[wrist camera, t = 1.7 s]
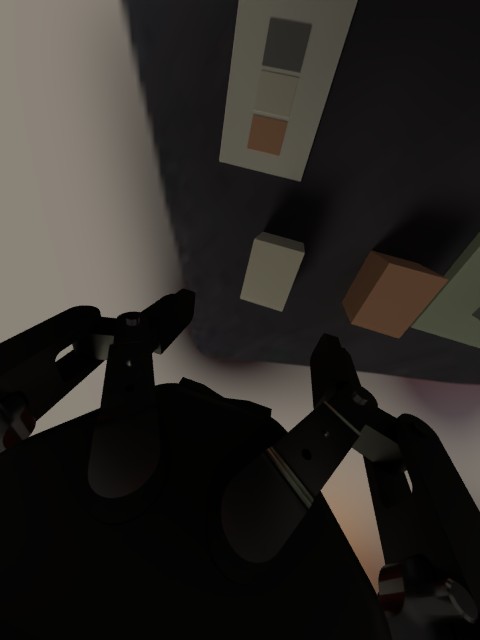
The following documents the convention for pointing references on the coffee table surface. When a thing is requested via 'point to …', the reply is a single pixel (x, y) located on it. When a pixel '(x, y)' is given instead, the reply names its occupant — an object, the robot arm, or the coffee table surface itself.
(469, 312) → the baseplate
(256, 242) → the brick cream
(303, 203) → the coffee table surface
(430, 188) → the coffee table surface
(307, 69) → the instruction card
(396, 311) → the brick terracotta
